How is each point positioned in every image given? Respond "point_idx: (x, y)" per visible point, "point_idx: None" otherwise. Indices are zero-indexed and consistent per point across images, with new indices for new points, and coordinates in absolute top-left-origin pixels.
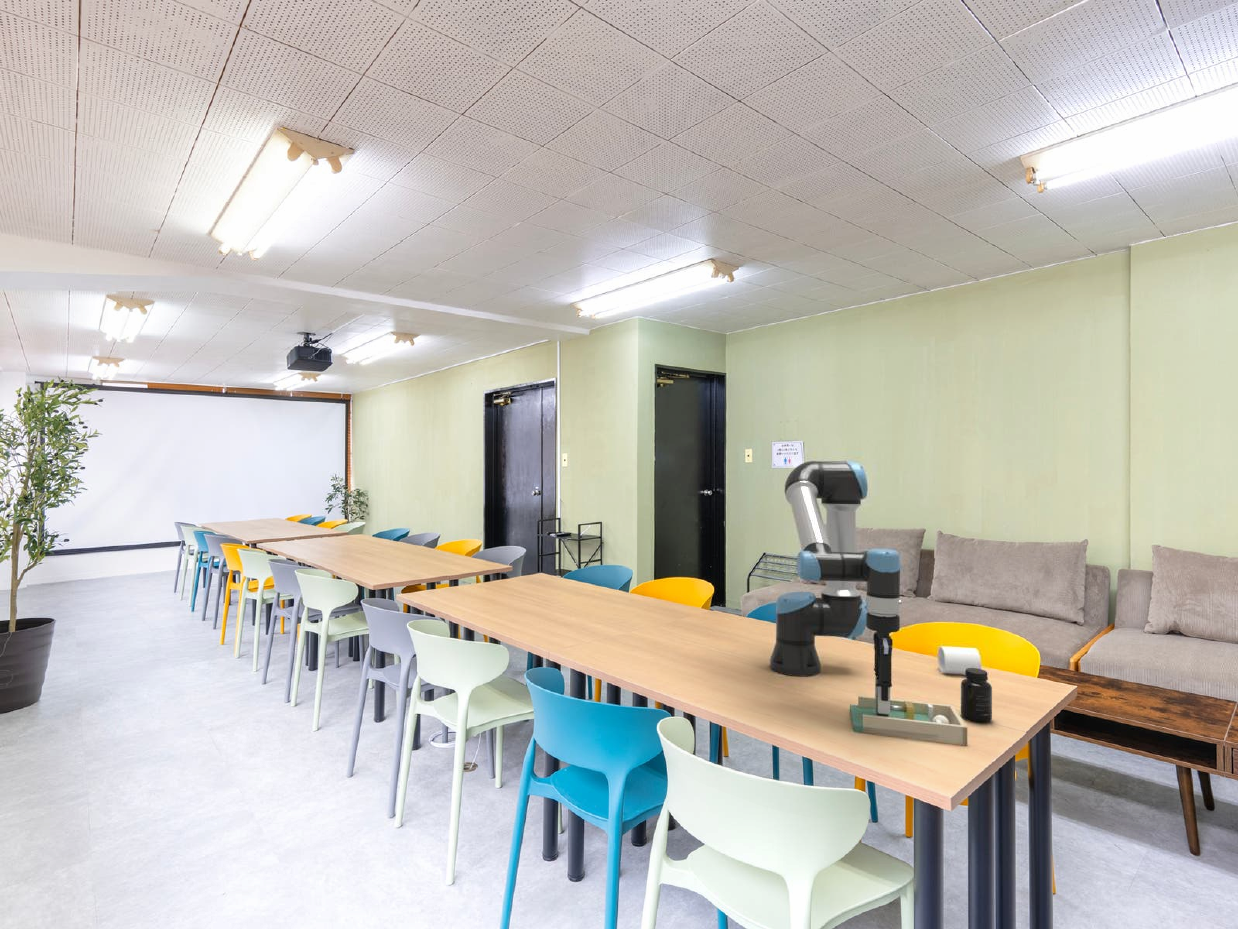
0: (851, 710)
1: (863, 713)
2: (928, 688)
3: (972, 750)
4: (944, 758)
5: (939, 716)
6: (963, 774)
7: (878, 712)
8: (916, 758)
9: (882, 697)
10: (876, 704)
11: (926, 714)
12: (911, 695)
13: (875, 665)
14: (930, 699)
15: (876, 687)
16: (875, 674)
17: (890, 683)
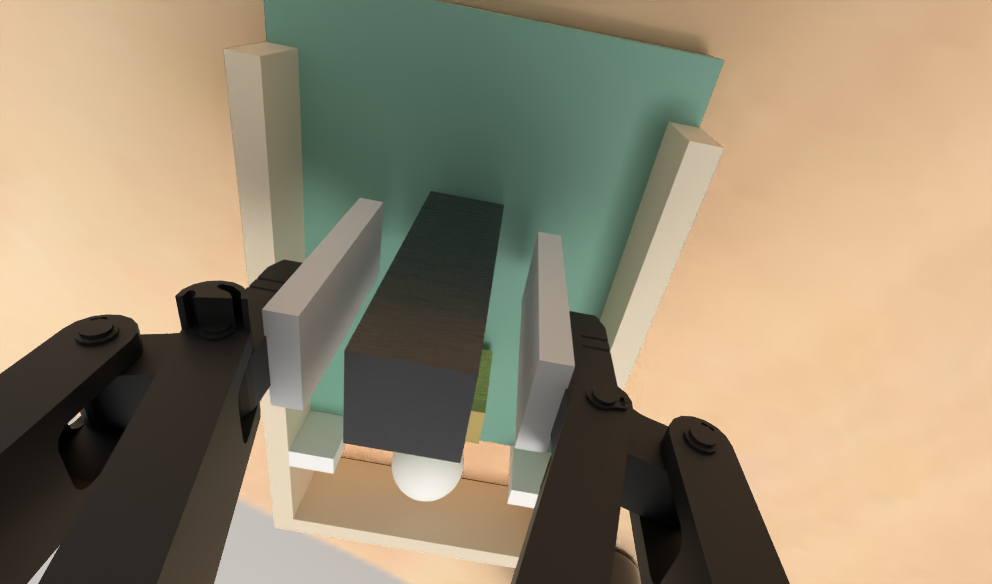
0: (586, 36)
1: (529, 121)
2: (963, 561)
3: (266, 460)
4: None
5: (413, 485)
6: (11, 359)
7: (359, 203)
8: (62, 239)
9: (262, 280)
10: (456, 228)
11: (548, 449)
12: (894, 477)
13: (682, 491)
14: (818, 522)
15: (439, 301)
16: (588, 394)
17: (79, 431)
